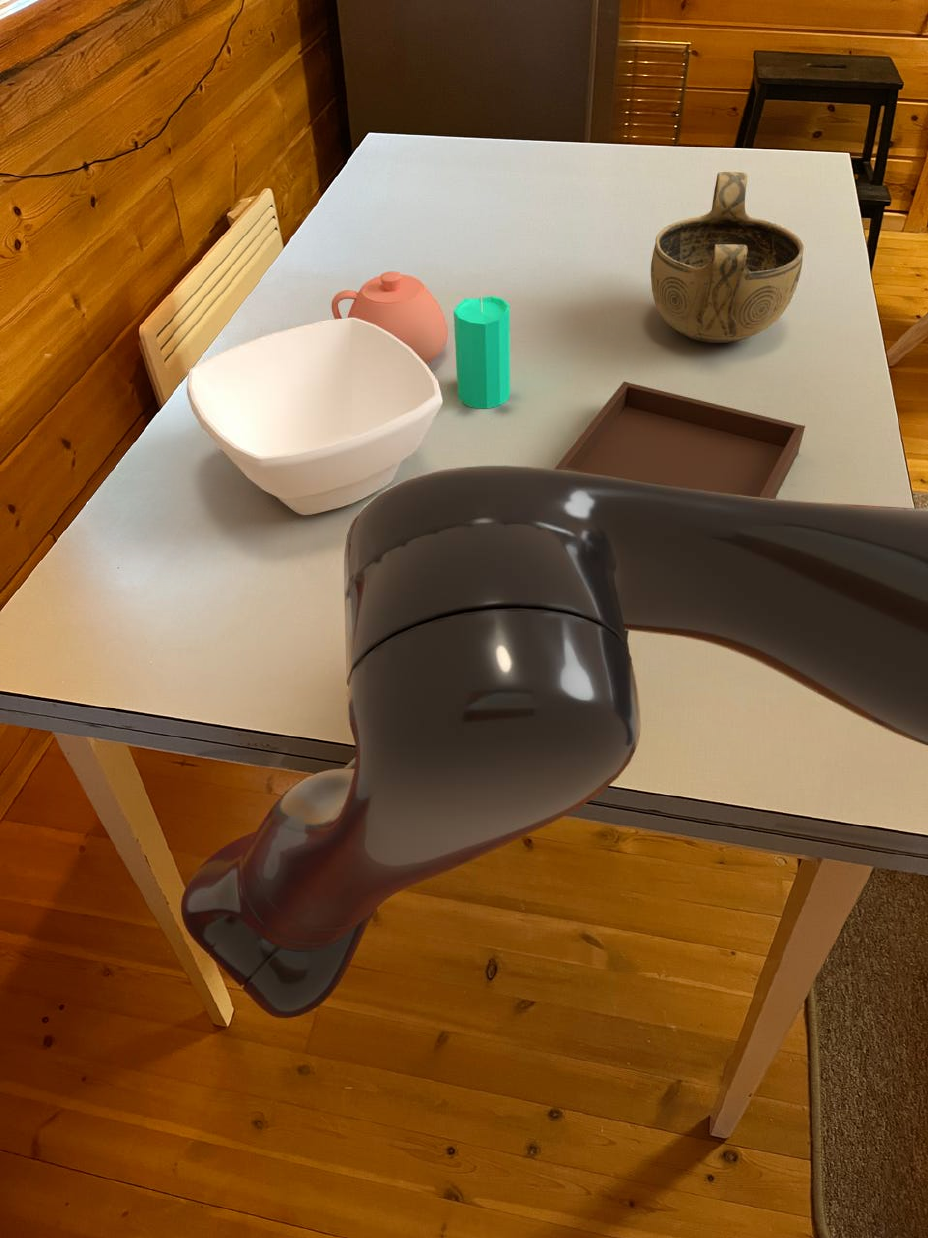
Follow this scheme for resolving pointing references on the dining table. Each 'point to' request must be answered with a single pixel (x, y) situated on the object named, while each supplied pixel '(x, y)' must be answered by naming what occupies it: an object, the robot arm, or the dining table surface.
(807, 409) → the dining table surface
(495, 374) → the candle
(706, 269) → the ceramic bowl
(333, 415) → the bowl
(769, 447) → the tray
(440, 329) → the sugar bowl
